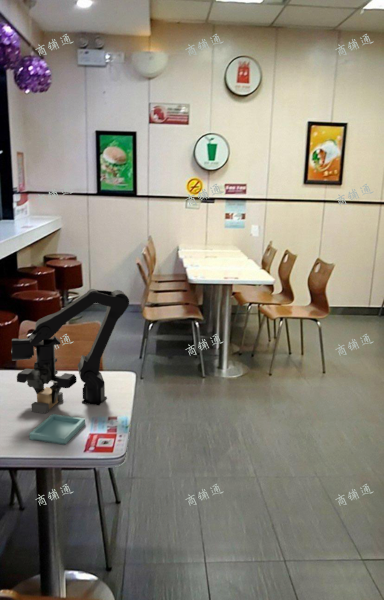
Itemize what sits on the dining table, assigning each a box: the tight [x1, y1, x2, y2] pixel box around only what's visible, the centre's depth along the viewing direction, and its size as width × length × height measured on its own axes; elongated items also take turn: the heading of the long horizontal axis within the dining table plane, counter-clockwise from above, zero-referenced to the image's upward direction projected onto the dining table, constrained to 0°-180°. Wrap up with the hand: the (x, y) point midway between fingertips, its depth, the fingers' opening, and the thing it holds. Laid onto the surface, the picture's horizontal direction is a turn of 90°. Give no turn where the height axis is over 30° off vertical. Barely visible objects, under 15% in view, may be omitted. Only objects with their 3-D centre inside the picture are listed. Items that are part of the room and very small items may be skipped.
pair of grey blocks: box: [30, 391, 64, 414], centre depth 161 cm, size 5×11×2 cm, turn 166°
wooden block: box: [36, 386, 58, 410], centre depth 161 cm, size 4×6×5 cm, turn 166°
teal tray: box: [29, 413, 86, 446], centre depth 144 cm, size 11×13×2 cm
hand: (47, 402), depth 161 cm, fingers closed on wooden block, 4 cm apart
